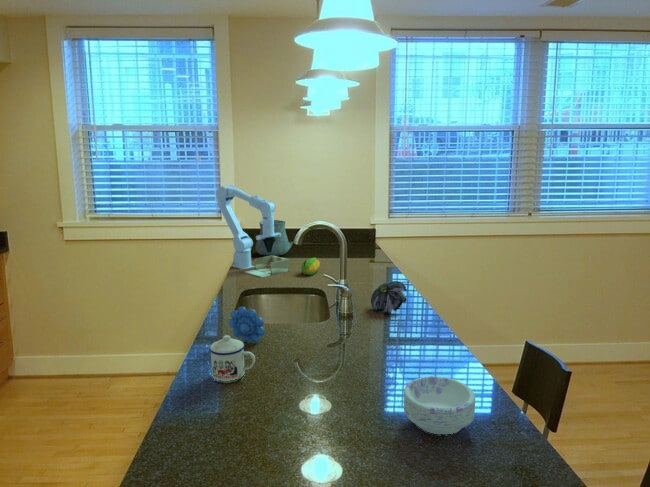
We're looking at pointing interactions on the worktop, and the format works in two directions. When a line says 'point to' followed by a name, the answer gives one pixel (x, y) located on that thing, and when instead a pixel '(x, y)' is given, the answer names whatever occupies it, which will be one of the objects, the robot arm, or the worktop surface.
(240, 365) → the teacup with lid
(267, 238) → the robot arm
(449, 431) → the paper bowls
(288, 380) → the worktop surface
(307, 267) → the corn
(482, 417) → the worktop surface
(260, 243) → the vessel
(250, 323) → the blue flower ornament
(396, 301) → the decorative flower
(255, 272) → the tailgate
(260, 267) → the crate
